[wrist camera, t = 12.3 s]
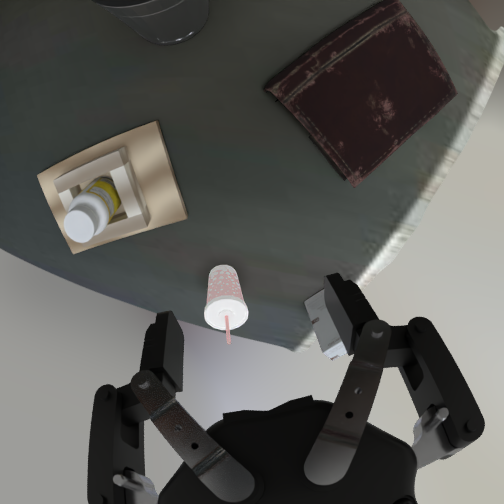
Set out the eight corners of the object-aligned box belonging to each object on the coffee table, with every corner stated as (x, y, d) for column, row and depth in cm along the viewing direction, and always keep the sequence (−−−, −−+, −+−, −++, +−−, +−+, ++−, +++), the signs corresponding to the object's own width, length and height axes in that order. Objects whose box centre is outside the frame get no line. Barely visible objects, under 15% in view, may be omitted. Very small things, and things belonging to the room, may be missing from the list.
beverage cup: (200, 264, 43) (199, 331, 31) (239, 257, 43) (250, 323, 32) (208, 293, 46) (210, 360, 35) (244, 287, 47) (255, 353, 35)
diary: (259, 88, 31) (266, 86, 27) (378, 1, 24) (396, -6, 19) (344, 182, 39) (359, 193, 35) (440, 94, 32) (460, 97, 28)
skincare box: (329, 284, 49) (355, 332, 39) (339, 296, 51) (364, 343, 41) (301, 302, 51) (321, 352, 40) (312, 313, 53) (332, 362, 43)
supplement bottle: (94, 214, 34) (67, 251, 26) (85, 179, 32) (51, 208, 23) (127, 208, 35) (105, 245, 27) (119, 171, 32) (91, 199, 24)
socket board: (41, 172, 31) (26, 182, 27) (158, 120, 31) (150, 123, 27) (76, 249, 38) (66, 264, 35) (187, 214, 38) (185, 228, 35)
